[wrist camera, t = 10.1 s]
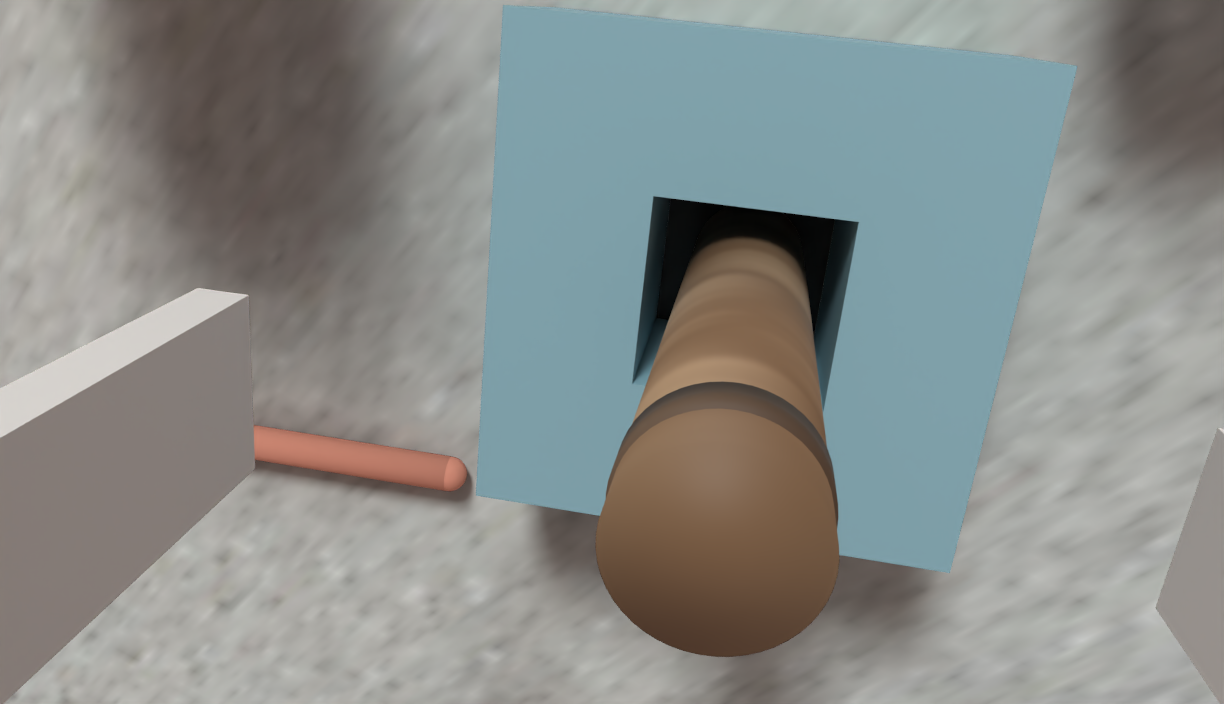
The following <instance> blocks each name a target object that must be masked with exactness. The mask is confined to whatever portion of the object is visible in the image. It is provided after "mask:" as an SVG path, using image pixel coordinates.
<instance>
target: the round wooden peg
mask: <svg viewBox="0 0 1224 704" xmlns="http://www.w3.org/2000/svg"><path fill="white" fill-rule="evenodd" d="M837 526H838V500H837V492H836V484H835V477H834V471H833V465H832V461H831V458H830V455H829V452H828V449H827V444H826V435H825V427H824V419H823V411H822V402H821V394H820V386H819V378H818V369H817V361H816V353H815V345H814V337H813V328H812V320H811V312H810V304H809V295H808V287H807V279H806V271H805V263H804V254H803V247H802V242H801V239H800V235H799V233H798V231H797V229H796V228H795V226H794V225H793V223H792V222H791V221H790V220H789V219H788V218H787V217H786V216H785V215H784V214H783V213H781V212H776V211H768V210H760V209H752V208H744V207H736V206H727V207H725V208H723V209H721V210H720V211H718V212H717V213H715V214H714V215H713V216H712V217H711V218H710V219H709V220H708V221H707V222H706V223H705V225H704V226H703V228H702V229H701V231H700V233H699V235H698V238H697V241H696V244H695V247H694V249H693V252H692V255H691V258H690V261H689V264H688V266H687V269H686V272H685V275H684V278H683V281H682V284H681V286H680V289H679V292H678V295H677V298H676V301H675V303H674V306H673V309H672V312H671V315H670V318H669V320H668V323H667V326H666V329H665V332H664V335H663V338H662V340H661V343H660V346H659V349H658V352H657V355H656V357H655V360H654V363H653V366H652V369H651V372H650V375H649V377H648V380H647V383H646V386H645V389H644V392H643V394H642V397H641V400H640V403H639V406H638V409H637V412H636V414H635V417H634V420H633V423H632V425H631V426H630V428H629V429H628V431H627V433H626V435H625V437H624V439H623V441H622V443H621V446H620V448H619V451H618V454H617V457H616V459H615V462H614V465H613V468H612V471H611V474H610V477H609V480H608V484H607V490H606V500H605V503H604V505H603V508H602V511H601V514H600V517H599V520H598V525H597V531H596V556H597V563H598V566H599V570H600V574H601V577H602V579H603V582H604V584H605V586H606V588H607V590H608V592H609V594H610V595H611V597H612V599H613V600H614V602H615V603H616V604H617V606H618V607H619V608H620V610H621V611H622V612H623V613H624V614H625V615H626V616H627V617H628V618H629V619H630V620H631V621H632V622H633V623H634V624H635V625H637V626H638V627H639V628H640V629H642V630H643V631H644V632H646V633H647V634H649V635H651V636H652V637H654V638H655V639H657V640H659V641H661V642H663V643H665V644H667V645H669V646H672V647H675V648H677V649H680V650H683V651H687V652H691V653H695V654H699V655H707V656H715V657H733V656H743V655H749V654H754V653H758V652H762V651H765V650H768V649H771V648H774V647H776V646H778V645H780V644H782V643H784V642H786V641H788V640H790V639H791V638H793V637H794V636H796V635H797V634H799V633H800V632H801V631H803V630H804V629H805V628H806V627H807V626H808V625H810V624H811V623H812V621H813V620H814V619H815V618H816V617H817V616H818V615H819V613H820V612H821V611H822V609H823V608H824V606H825V605H826V603H827V601H828V600H829V597H830V595H831V593H832V591H833V589H834V585H835V582H836V578H837V575H838V567H839V542H838V534H837Z"/></svg>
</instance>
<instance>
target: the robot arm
mask: <svg viewBox="0 0 1224 704" xmlns="http://www.w3.org/2000/svg"><path fill="white" fill-rule="evenodd" d="M254 469H255V451H254V423H253V395H252V367H251V339H250V311H249V295H245V294H238V293H231V292H223V291H216V290H209V289H202V288H197V289H195V290H193V291H191V292H189V293H187V294H185V295H183V296H181V297H179V298H177V299H175V300H173V301H171V302H169V303H167V304H165V305H163V306H161V307H159V308H157V309H155V310H153V311H151V312H149V313H147V314H145V315H144V316H142V317H140V318H138V319H136V320H134V321H132V322H130V323H128V324H126V325H124V326H122V327H120V328H118V329H116V330H114V331H112V332H110V333H108V334H106V335H104V336H102V337H100V338H98V339H96V340H94V341H92V342H90V343H88V344H86V345H85V346H83V347H81V348H79V349H77V350H75V351H73V352H71V353H69V354H67V355H65V356H63V357H61V358H59V359H57V360H55V361H53V362H51V363H49V364H47V365H45V366H43V367H41V368H39V369H37V370H35V371H33V372H31V373H29V374H27V375H26V376H24V377H22V378H20V379H18V380H16V381H14V382H12V383H10V384H8V385H6V386H4V387H2V388H0V704H3V703H4V702H5V701H7V700H8V699H9V698H10V697H11V696H12V695H13V694H14V693H15V692H16V691H17V690H18V689H19V688H20V687H22V686H23V685H24V684H25V683H26V682H27V681H28V680H29V679H30V678H31V677H32V676H33V675H34V674H35V673H37V672H38V671H39V670H40V669H41V668H42V667H43V666H44V665H45V664H46V663H47V662H48V661H49V660H50V659H52V658H53V657H54V656H55V655H56V654H57V653H58V652H59V651H60V650H61V649H62V648H63V647H64V646H66V645H67V644H68V643H69V642H70V641H71V640H72V639H73V638H74V637H75V636H76V635H77V634H78V633H79V632H81V631H82V630H83V629H84V628H85V627H86V626H87V625H88V624H89V623H90V622H91V621H92V620H93V619H94V618H96V617H97V616H98V615H99V614H100V613H101V612H102V611H103V610H104V609H105V608H106V607H107V606H108V605H109V604H111V603H112V602H113V601H114V600H115V599H116V598H117V597H118V596H119V595H120V594H121V593H122V592H123V591H124V590H126V589H127V588H128V587H129V586H130V585H131V584H132V583H133V582H134V581H135V580H136V579H137V578H138V577H140V576H141V575H142V574H143V573H144V572H145V571H146V570H147V569H148V568H149V567H150V566H151V565H152V564H153V563H155V562H156V561H157V560H158V559H159V558H160V557H161V556H162V555H163V554H164V553H165V552H166V551H167V550H168V549H170V548H171V547H172V546H173V545H174V544H175V543H176V542H177V541H178V540H179V539H180V538H181V537H182V536H183V535H185V534H186V533H187V532H188V531H189V530H190V529H191V528H192V527H193V526H194V525H195V524H196V523H197V522H198V521H200V520H201V519H202V518H203V517H204V516H205V515H206V514H207V513H208V512H209V511H210V510H211V509H212V508H214V507H215V506H216V505H217V504H218V503H219V502H220V501H221V500H222V499H223V498H224V497H225V496H226V495H227V494H229V493H230V492H231V491H232V490H233V489H234V488H235V487H236V486H237V485H238V484H239V483H240V482H241V481H242V480H244V479H245V478H246V477H247V476H248V475H249V474H250V473H251V472H252V471H253V470H254ZM1156 609H1157V611H1158V612H1159V614H1160V615H1161V617H1162V618H1163V620H1164V621H1165V623H1166V624H1167V626H1168V627H1169V629H1170V630H1171V632H1172V633H1173V635H1174V636H1175V638H1176V639H1177V641H1178V642H1179V644H1180V645H1181V646H1182V648H1183V649H1184V651H1185V652H1186V654H1187V655H1188V657H1189V658H1190V660H1191V661H1192V663H1193V664H1194V666H1195V667H1196V669H1197V670H1198V672H1199V673H1200V675H1201V676H1202V678H1203V679H1204V681H1205V682H1206V684H1207V685H1208V686H1209V688H1210V689H1211V691H1212V692H1213V694H1214V695H1215V697H1216V698H1217V700H1218V701H1219V703H1220V704H1224V429H1222V428H1218V429H1217V431H1216V434H1215V437H1214V440H1213V443H1212V446H1211V449H1210V452H1209V455H1208V457H1207V460H1206V463H1205V466H1204V469H1203V472H1202V475H1201V478H1200V481H1199V483H1198V486H1197V489H1196V492H1195V495H1194V498H1193V501H1192V504H1191V507H1190V510H1189V512H1188V515H1187V518H1186V521H1185V524H1184V527H1183V530H1182V533H1181V536H1180V538H1179V541H1178V544H1177V547H1176V550H1175V553H1174V556H1173V559H1172V562H1171V564H1170V567H1169V570H1168V573H1167V576H1166V579H1165V582H1164V585H1163V588H1162V590H1161V593H1160V596H1159V599H1158V602H1157V605H1156Z"/></svg>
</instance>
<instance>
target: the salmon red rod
mask: <svg viewBox="0 0 1224 704" xmlns="http://www.w3.org/2000/svg"><path fill="white" fill-rule="evenodd" d="M254 451H255V460H260V461H266V462H272V463H278V464H284V465H290V466H297V467H303V468H309V469H315V470H321V471H327V472H333V473H339V474H345V475H352V476H358V477H364V478H370V479H376V480H382V481H388V482H394V483H400V484H407V485H413V486H419V487H425V488H431V489H437V490H443V491H454V490H457V489H458V488H460V487H461V486H462V485H463V484H464V482H465V480H466V477H467V470H466V467H465V465H464V463H463V462H462V461H461V460H460V459H458V458H455V457H451V456H445V455H439V454H433V453H426V452H420V451H414V450H407V449H401V448H395V447H389V446H382V445H376V444H370V443H364V442H357V441H351V440H345V439H338V438H332V437H326V436H320V435H313V434H307V433H301V432H295V431H288V430H282V429H276V428H269V427H263V426H257V425H254Z"/></svg>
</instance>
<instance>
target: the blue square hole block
mask: <svg viewBox="0 0 1224 704" xmlns="http://www.w3.org/2000/svg"><path fill="white" fill-rule="evenodd" d="M1076 70H1077V66H1075V65H1068V64H1062V63H1056V62H1050V61H1043V60H1037V59H1031V58H1025V57H1018V56H1011V55H1002V54H992V53H983V52H973V51H964V50H954V49H945V48H935V47H926V46H916V45H907V44H897V43H888V42H878V41H869V40H859V39H850V38H840V37H831V36H821V35H812V34H802V33H793V32H783V31H774V30H764V29H755V28H746V27H736V26H727V25H717V24H708V23H698V22H689V21H679V20H670V19H660V18H651V17H641V16H632V15H622V14H613V13H603V12H594V11H584V10H575V9H565V8H556V7H534V6H510V5H503V17H502V35H501V53H500V71H499V89H498V107H497V125H496V143H495V161H494V179H493V197H492V215H491V233H490V250H489V268H488V286H487V304H486V322H485V340H484V358H483V376H482V394H481V412H480V430H479V448H478V466H477V484H476V496H482V497H488V498H494V499H500V500H506V501H513V502H519V503H525V504H531V505H537V506H543V507H549V508H555V509H561V510H568V511H574V512H580V513H586V514H592V515H598V516H600V514H601V511H602V508H603V505H604V503H605V500H606V490H607V484H608V480H609V477H610V474H611V471H612V468H613V465H614V462H615V459H616V457H617V454H618V451H619V448H620V446H621V443H622V441H623V439H624V437H625V435H626V433H627V431H628V429H629V428H630V426H631V425H632V423H633V420H634V417H635V414H636V412H637V409H638V406H639V403H640V400H641V397H642V394H643V392H644V389H645V386H646V383H647V380H648V377H649V375H650V372H651V369H652V366H653V363H654V360H655V357H656V355H657V352H658V349H659V346H660V343H661V340H662V338H663V335H664V332H665V329H666V326H667V323H668V320H666V319H659V318H657V310H658V301H659V293H660V285H661V276H662V268H663V259H664V251H665V243H666V234H667V226H668V218H669V209H670V201H671V198H672V199H680V200H688V201H696V202H704V203H712V204H720V205H728V206H736V207H744V208H752V209H760V210H768V211H776V212H784V213H792V214H799V215H807V216H815V217H823V218H831V219H835V221H834V227H833V233H832V238H831V244H830V249H829V255H828V260H827V266H826V272H825V277H824V283H823V288H822V294H821V300H820V305H819V311H818V316H817V322H816V328H815V333H814V345H815V353H816V361H817V369H818V378H819V386H820V394H821V402H822V411H823V419H824V427H825V435H826V444H827V449H828V452H829V455H830V458H831V461H832V465H833V471H834V477H835V484H836V492H837V500H838V526H837V534H838V542H839V555H843V556H849V557H855V558H861V559H867V560H873V561H879V562H885V563H892V564H898V565H904V566H910V567H916V568H922V569H928V570H934V571H940V572H947V573H950V570H951V566H952V562H953V558H954V554H955V550H956V546H957V542H958V538H959V535H960V531H961V527H962V523H963V519H964V515H965V511H966V507H967V503H968V499H969V495H970V491H971V487H972V483H973V479H974V475H975V471H976V467H977V463H978V459H979V455H980V451H981V447H982V443H983V439H984V435H985V431H986V427H987V423H988V419H989V415H990V411H991V407H992V404H993V400H994V396H995V392H996V388H997V384H998V380H999V376H1000V372H1001V368H1002V364H1003V360H1004V356H1005V352H1006V348H1007V344H1008V340H1009V336H1010V332H1011V328H1012V324H1013V320H1014V316H1015V312H1016V308H1017V304H1018V300H1019V296H1020V292H1021V288H1022V284H1023V280H1024V276H1025V273H1026V269H1027V265H1028V261H1029V257H1030V253H1031V249H1032V245H1033V241H1034V237H1035V233H1036V229H1037V225H1038V221H1039V217H1040V213H1041V209H1042V205H1043V201H1044V197H1045V193H1046V189H1047V185H1048V181H1049V177H1050V173H1051V169H1052V165H1053V161H1054V157H1055V153H1056V149H1057V146H1058V142H1059V138H1060V134H1061V130H1062V126H1063V122H1064V118H1065V114H1066V110H1067V106H1068V102H1069V98H1070V94H1071V90H1072V86H1073V82H1074V78H1075V74H1076Z"/></svg>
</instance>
